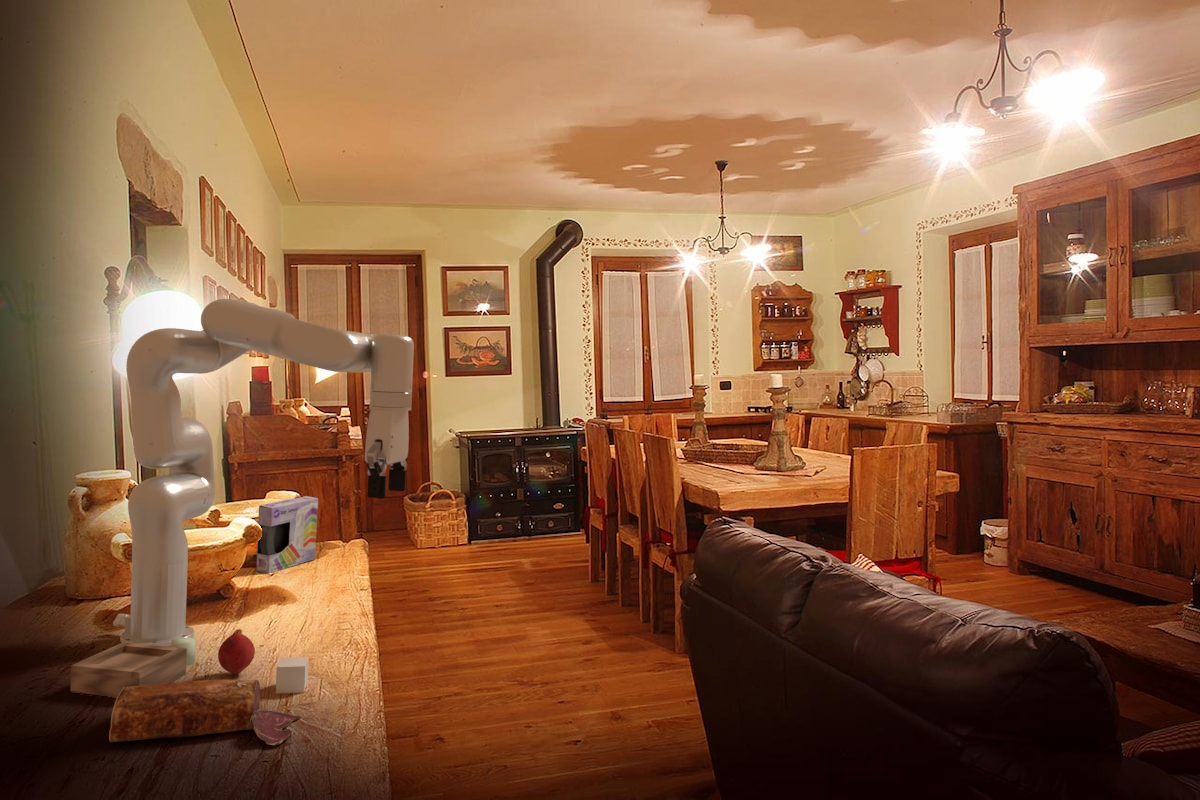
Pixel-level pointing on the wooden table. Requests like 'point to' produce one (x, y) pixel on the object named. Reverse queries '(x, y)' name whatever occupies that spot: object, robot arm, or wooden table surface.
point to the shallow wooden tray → (127, 668)
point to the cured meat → (195, 711)
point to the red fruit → (236, 652)
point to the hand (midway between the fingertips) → (387, 494)
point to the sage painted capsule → (186, 643)
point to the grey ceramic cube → (292, 675)
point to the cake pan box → (287, 533)
